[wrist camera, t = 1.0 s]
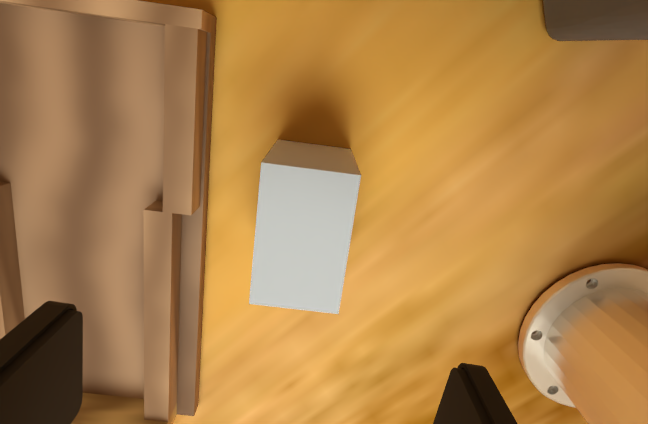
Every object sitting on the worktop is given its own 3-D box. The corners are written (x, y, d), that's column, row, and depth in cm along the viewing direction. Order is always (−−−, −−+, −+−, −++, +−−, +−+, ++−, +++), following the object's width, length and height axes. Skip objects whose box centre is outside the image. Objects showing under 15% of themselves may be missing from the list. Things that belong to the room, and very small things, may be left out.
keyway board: (216, 17, 26) (196, 6, 22) (198, 404, 35) (182, 447, 31) (-50, -21, 25) (-121, -39, 21) (3, 384, 34) (-39, 425, 30)
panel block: (350, 148, 28) (360, 175, 21) (334, 255, 31) (338, 313, 23) (277, 139, 28) (261, 162, 21) (267, 247, 31) (249, 303, 23)
